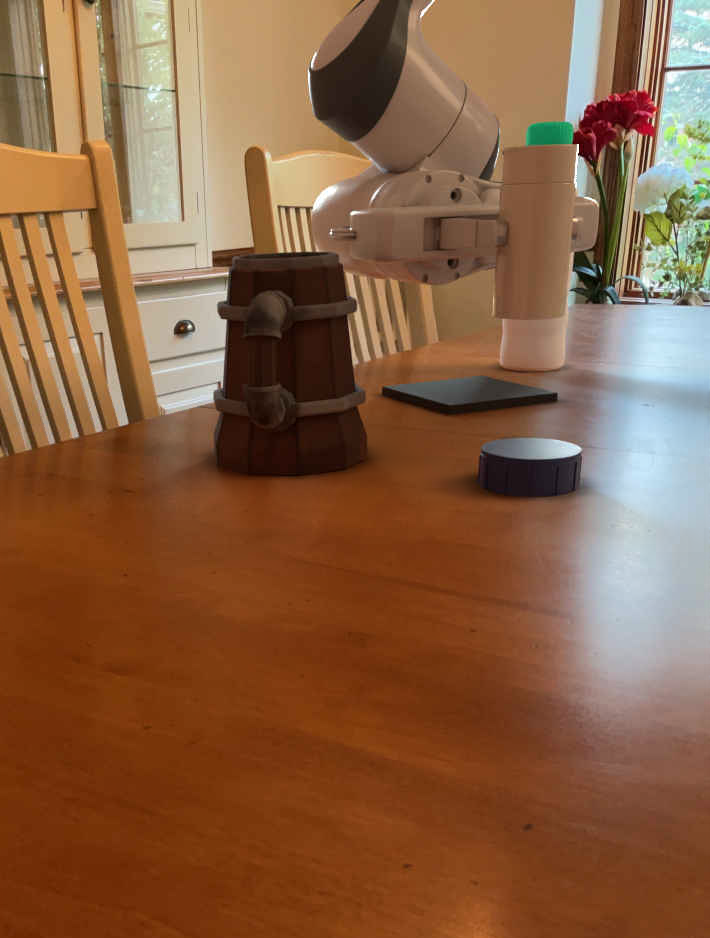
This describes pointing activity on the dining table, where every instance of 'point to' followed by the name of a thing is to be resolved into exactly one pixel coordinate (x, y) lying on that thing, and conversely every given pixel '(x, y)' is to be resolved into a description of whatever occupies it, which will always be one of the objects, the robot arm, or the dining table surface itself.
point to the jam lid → (530, 467)
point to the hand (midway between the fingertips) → (539, 231)
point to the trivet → (468, 394)
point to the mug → (288, 368)
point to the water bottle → (541, 338)
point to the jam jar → (535, 231)
